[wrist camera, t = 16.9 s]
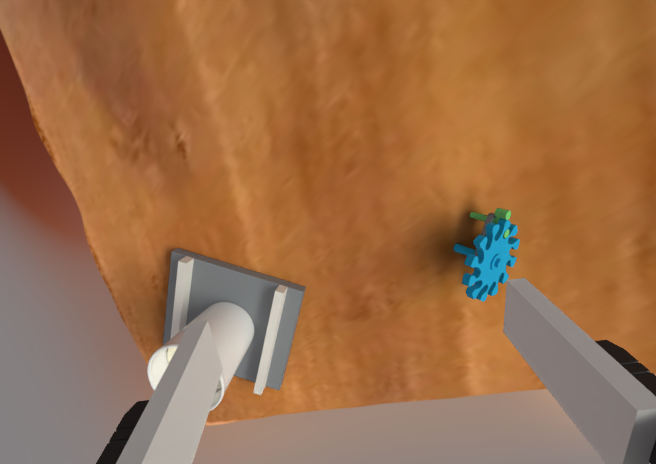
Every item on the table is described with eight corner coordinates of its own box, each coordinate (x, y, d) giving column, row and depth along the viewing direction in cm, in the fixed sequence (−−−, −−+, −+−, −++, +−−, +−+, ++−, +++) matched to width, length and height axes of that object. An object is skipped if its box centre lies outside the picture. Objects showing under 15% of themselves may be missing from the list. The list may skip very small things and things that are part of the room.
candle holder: (192, 296, 53) (137, 344, 41) (254, 296, 51) (214, 346, 39) (205, 352, 55) (157, 412, 44) (264, 354, 53) (230, 417, 42)
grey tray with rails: (167, 345, 58) (154, 359, 55) (177, 247, 52) (163, 256, 49) (282, 383, 56) (275, 400, 53) (305, 286, 50) (299, 298, 47)
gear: (507, 301, 44) (463, 307, 38) (465, 282, 49) (420, 285, 43) (536, 216, 42) (495, 208, 36) (490, 204, 47) (446, 196, 40)
